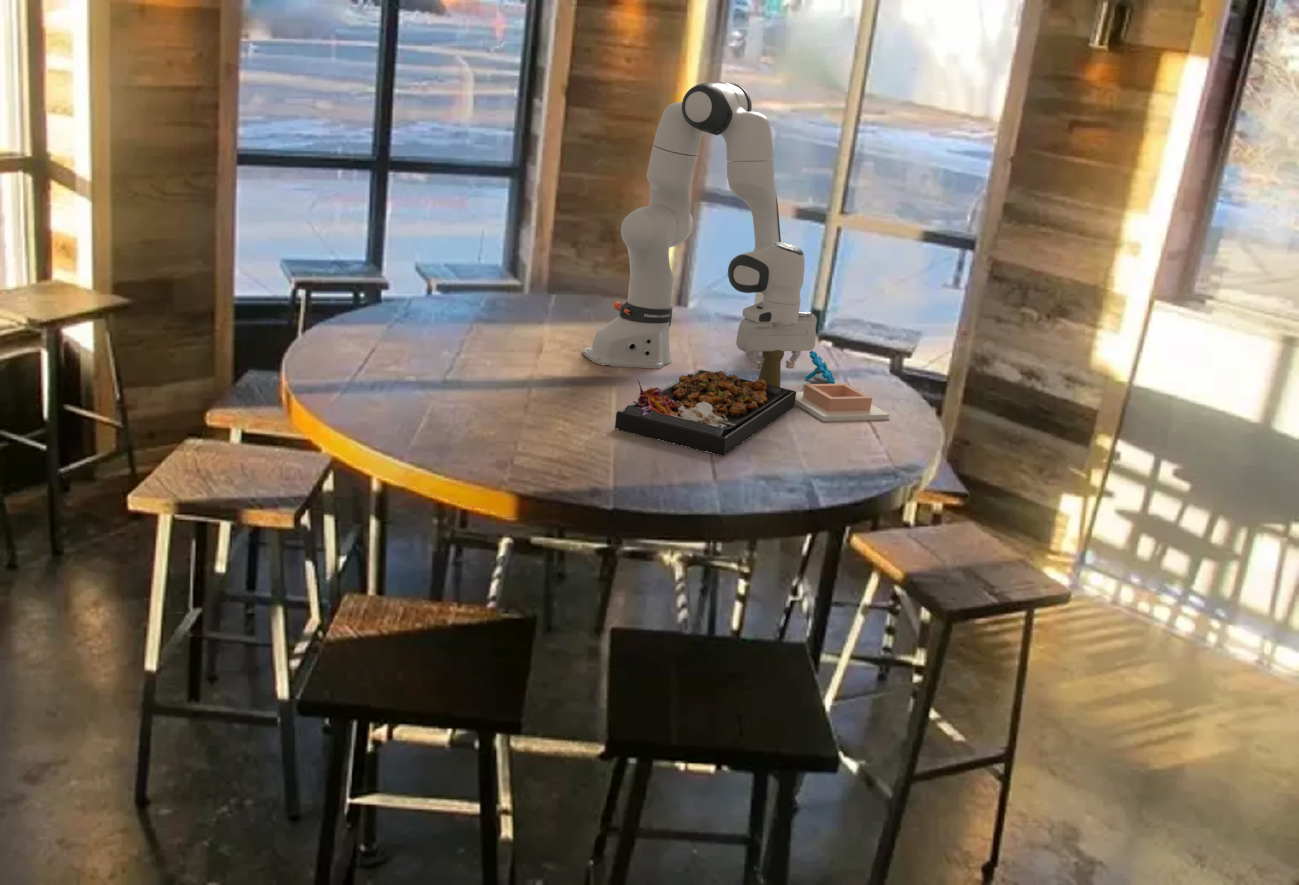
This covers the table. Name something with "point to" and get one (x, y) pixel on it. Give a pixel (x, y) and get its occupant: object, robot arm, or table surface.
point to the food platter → (706, 411)
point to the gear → (820, 368)
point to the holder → (838, 403)
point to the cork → (771, 367)
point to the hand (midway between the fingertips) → (772, 368)
